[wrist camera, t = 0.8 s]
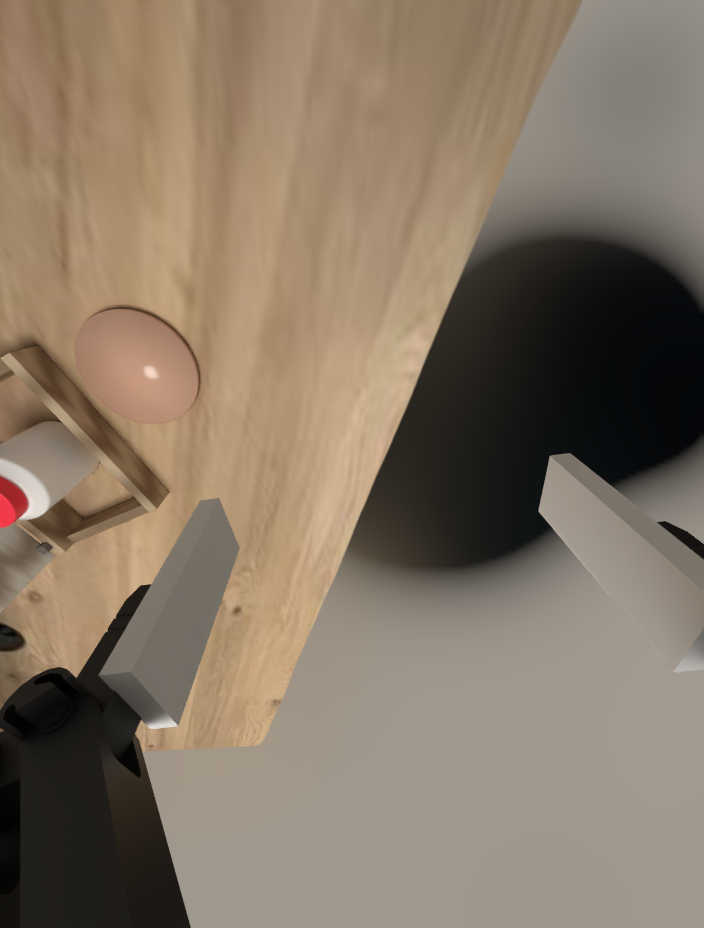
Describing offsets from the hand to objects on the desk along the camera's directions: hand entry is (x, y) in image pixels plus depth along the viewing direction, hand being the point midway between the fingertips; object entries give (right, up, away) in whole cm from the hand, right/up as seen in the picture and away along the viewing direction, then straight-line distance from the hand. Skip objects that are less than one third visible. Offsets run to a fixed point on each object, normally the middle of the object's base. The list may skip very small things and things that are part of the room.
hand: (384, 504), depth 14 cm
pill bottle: (-36, +3, +27) cm, 45 cm away
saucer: (-24, +12, +22) cm, 35 cm away
